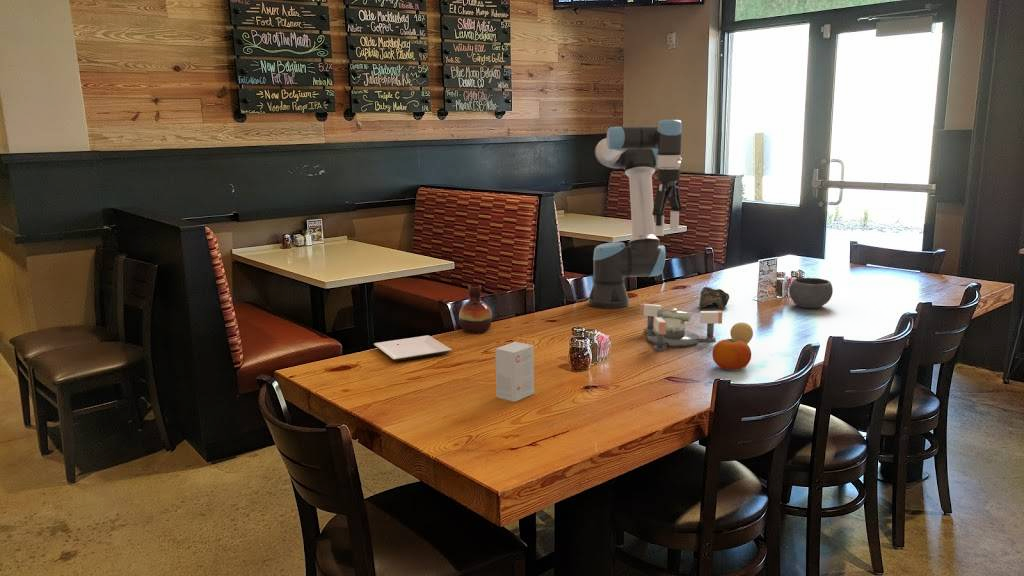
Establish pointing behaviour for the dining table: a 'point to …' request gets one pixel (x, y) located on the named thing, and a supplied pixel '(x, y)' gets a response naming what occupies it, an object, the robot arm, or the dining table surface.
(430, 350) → the plate
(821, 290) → the bowl
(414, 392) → the dining table surface
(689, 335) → the tribrach
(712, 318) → the knob
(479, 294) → the vase
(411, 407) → the dining table surface
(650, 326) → the knob
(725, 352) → the fruit
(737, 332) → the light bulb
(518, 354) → the small box
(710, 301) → the fossil
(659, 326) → the knob
